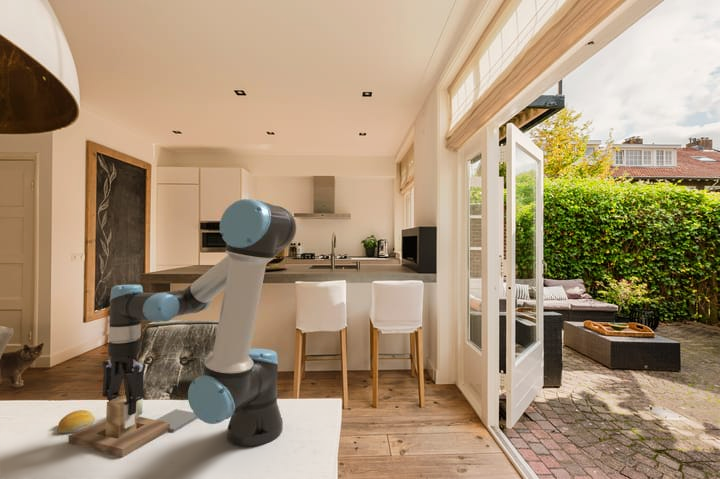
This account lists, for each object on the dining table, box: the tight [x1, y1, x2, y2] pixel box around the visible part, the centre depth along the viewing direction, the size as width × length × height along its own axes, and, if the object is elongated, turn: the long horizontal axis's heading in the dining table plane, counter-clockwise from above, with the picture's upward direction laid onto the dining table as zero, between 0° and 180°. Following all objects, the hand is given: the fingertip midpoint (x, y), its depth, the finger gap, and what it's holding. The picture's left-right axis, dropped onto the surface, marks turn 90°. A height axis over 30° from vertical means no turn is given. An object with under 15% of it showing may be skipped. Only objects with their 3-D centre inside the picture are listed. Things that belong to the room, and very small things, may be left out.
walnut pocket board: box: [67, 415, 170, 458], centre depth 94 cm, size 20×14×2 cm
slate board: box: [155, 408, 199, 433], centre depth 102 cm, size 10×10×1 cm
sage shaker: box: [137, 398, 144, 417], centre depth 107 cm, size 4×4×9 cm
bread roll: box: [57, 409, 96, 434], centre depth 99 cm, size 8×9×4 cm
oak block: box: [105, 394, 137, 439], centre depth 94 cm, size 5×5×10 cm
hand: (121, 424), depth 94 cm, fingers closed on oak block, 5 cm apart
